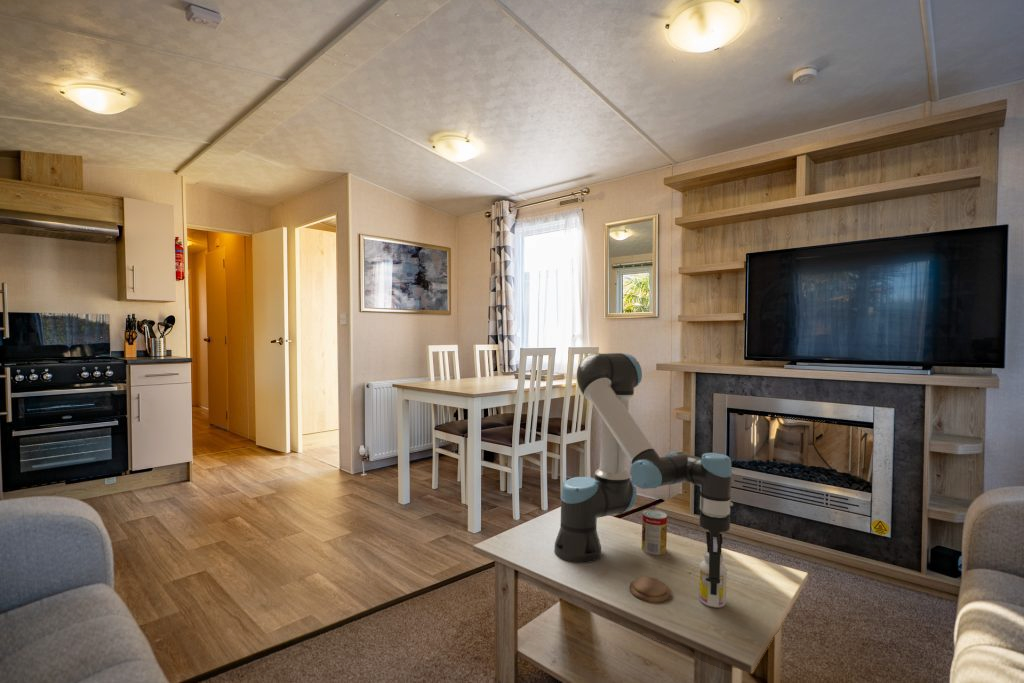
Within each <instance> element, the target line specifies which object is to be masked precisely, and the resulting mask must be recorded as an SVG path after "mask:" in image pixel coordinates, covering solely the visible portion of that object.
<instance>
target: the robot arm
mask: <svg viewBox="0 0 1024 683" xmlns="http://www.w3.org/2000/svg"><path fill="white" fill-rule="evenodd" d="M642 378H643V370H642V367H641V364H640V362H639V361H638V360H637V358H636V357H634V356H633V355H631V354H629V353H622V352H620V353H619V352H615V353H613V352H612V353H600V352H599V353H597V352H596V353H595V352H594V353H591V354H589V355H587V356H586V357H584V358H583V359H582V360H581V361H580V362H579V364H578V367H577V370H576V382H577V385H578V388H579V391H580V393H582V395H583V398H585V399H586V400H587V401H590V402H591V403H592V405H593V406H594V408H595V410H596V411H597V412H598V414H599V415H600V417H601V429H600V431H601V432H600V452H599V454H600V455H599V456H600V457H599V467H598V468H597V469H596V470H595V472H594V477H590V476H575V477H574V476H573V477H572V478H569V479H567V480H565V481H564V482H563V483H562V486H561V493H560V525H559V526H560V528H559V531H558V532H557V535H556V539H555V541H554V549H553V550H554V554H555V555H556V556H558V557H559V558H560V559H563V560H565V561H568V562H571V563H572V562H573V563H581V564H582V563H591V562H595V561H597V560H598V559H600V558H601V557H602V544H601V540H600V538H599V534H598V530H597V529H598V528H597V526H598V525H597V522H598V518H604V517H608V516H612V515H620V514H621V515H622V514H623V513H625V512H628V511H630V510H631V509H632V508H633V507H634V505H635V504H636V500H637V493H638V492H637V488H639V489H640V490H641V489H643V490H647V489H649V490H650V489H657V488H660V487H663V486H664V487H665V486H670V485H671V486H672V485H676V484H681V483H687V484H691V485H695V486H698V487H700V494H699V510H700V511H699V525H700V527H701V528H702V529H704V530H707V531H706V532H705V537H706V538H705V539H706V548H707V549H706V550H707V552H708V553H709V578H706V581H708V597H707V605H710V606H716V607H719V583H720V554H722V544H723V533H725V532H728V531H729V530H730V529H731V516H730V514H731V507H733V506H734V503H733V502H732V501H731V491H732V487H731V486H732V477H733V471H732V459H731V458H730V457H729V456H728V455H726V454H722V453H716V452H705V453H703V454H702V455H701V457H700V456H699V457H698V456H695V455H691V454H688V453H685V452H683V451H677V450H676V451H675V450H672V451H670V452H668V453H667V454H666V455H665V456H659V454H658V453H657V451H656V449H655V448H654V447H653V446H652V444H651V442H650V441H649V440H648V438H647V437H646V435H645V434H644V433H643V431H642V430H641V428H640V426H639V425H638V424H637V422H636V420H635V419H634V418H633V416H632V414H630V412H629V401H630V399H631V398H632V397H633V396H634V395H635V394H634V393H635V388H636V387H638V386H639V384H640V383H641V382H642ZM627 460H629V462H630V463H631V466H630V469H629V472H628V471H627V470H626V469H627V468H626V465H627ZM707 605H706V606H707ZM710 606H709V607H710Z"/></svg>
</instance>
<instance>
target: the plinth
mask: <svg viewBox="0 0 1024 683" xmlns="http://www.w3.org/2000/svg"><path fill="white" fill-rule="evenodd" d="M629 592H630V594H632V596H634V597H635V598H637V599H639V600H640V601H644V602H648V603H652V604H653V603H654V604H655V603H665V602H668V601H669V600H670V599H671V597H672V591H671V588H670V587H669V586H668V585H667V584H666V583H665V582H664V581H662V580H660V579H658V578H654V577H649V576H640V577H637V578H635V579H634V580H632V581H631V582H630V583H629Z"/></svg>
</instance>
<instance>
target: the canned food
mask: <svg viewBox="0 0 1024 683" xmlns="http://www.w3.org/2000/svg"><path fill="white" fill-rule="evenodd" d="M641 519H642V520H641V521H642V522H641V550H642V552H644V553H646V554H649V555H654V556H660V555H661V556H662V555H664V554H666V553H667V539H668V514H667V513H665V512H664V511H661V510H657V509H644V510H643V511H642V517H641Z"/></svg>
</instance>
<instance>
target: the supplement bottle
mask: <svg viewBox="0 0 1024 683" xmlns="http://www.w3.org/2000/svg"><path fill="white" fill-rule="evenodd" d="M703 558H704V560H703V561H701V562H700V564H699V588H698V589H699V596H698V598H699V600H700V602H701V603H702V604H703V605H705V606H707V607H710V608H716V609H718V608H723V607H724V606H726V604H727V577H728V576H727V571H728V570H727V566H725V564H724V563H723V561H724V555H723V553H721V554H720V583H719V607H716V606H710V605H707V597H708V581H706V578H709V553H708V552H707V551H704V553H703Z"/></svg>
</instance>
